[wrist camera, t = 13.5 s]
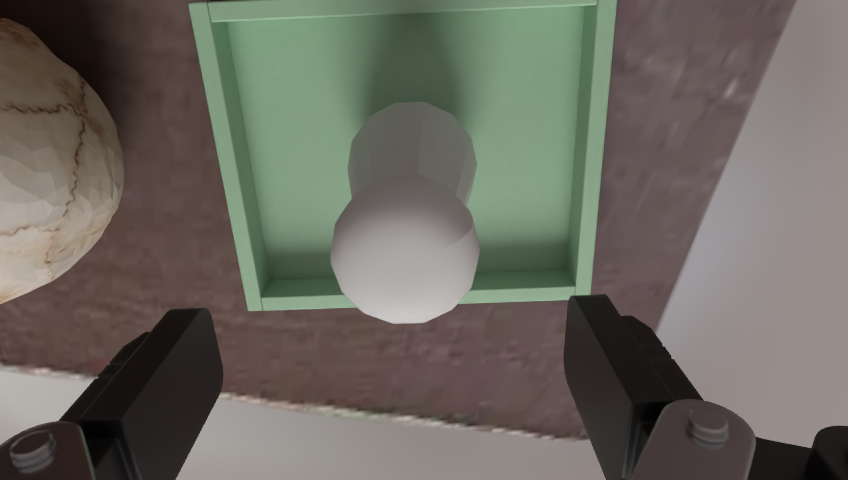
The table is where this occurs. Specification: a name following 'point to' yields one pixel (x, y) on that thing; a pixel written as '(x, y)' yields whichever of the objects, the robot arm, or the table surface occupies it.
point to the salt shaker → (408, 215)
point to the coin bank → (50, 164)
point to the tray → (397, 83)
